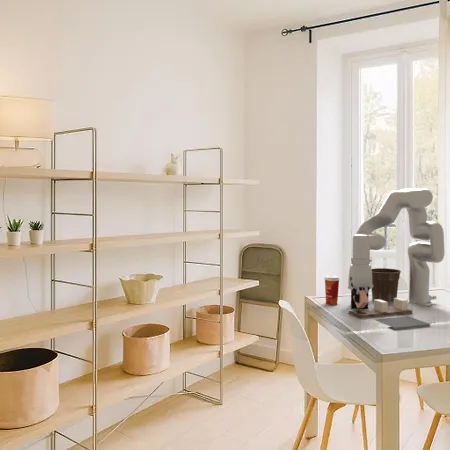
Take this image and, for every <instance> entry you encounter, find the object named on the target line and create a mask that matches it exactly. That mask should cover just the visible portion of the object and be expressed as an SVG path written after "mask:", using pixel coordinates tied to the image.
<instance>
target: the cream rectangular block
mask: <svg viewBox="0 0 450 450" xmlns="http://www.w3.org/2000/svg"><path fill="white" fill-rule="evenodd" d="M388 306H389V305H388V302H386V301H383V300H380V299H376V300H374V301H373V308H374V310H376V311H379V312H387V307H388Z"/></svg>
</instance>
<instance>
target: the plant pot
mask: <svg viewBox="0 0 450 450" xmlns="http://www.w3.org/2000/svg"><path fill="white" fill-rule="evenodd" d="M371 269H372V284H373V287H372V288H371V289H370V290H371V299H372V302H374V300H376V299H380V300H383V301H386V302H390V303H391V302H394V298H398V290H399V280H400V275H401V273H402V270H400V269H397V268H396V269H395V268H386V267H385V268H382V267H380V268H379V267H378V268H376V267H375V268H371Z"/></svg>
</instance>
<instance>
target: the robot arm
mask: <svg viewBox="0 0 450 450" xmlns="http://www.w3.org/2000/svg"><path fill="white" fill-rule="evenodd" d="M433 199H434V198H433V193H432V192H431V190H430V189H428V188H402V189H399V190H392V191H390V192H389V193H388V195H387V196H386V197H385V200H384V201H383V204H382V205H381V206H380V209H379V210H378V212H377V213H376V214H373V216H371V217H369V218H368V219H367V220H365V221H364V222H363V223H362V224H361V225H360V226H359V228H358V230H357V231H356V233H355V234H354V235H353V236H352V257H351V258H352V261H351V264H350V266H349V271H348V279H347V282H348V286H347V289H348V290H350V291H351V290H352V291H353V293H354V300H355V302H357V303H360V294H359V287H362V290H365V293H366V295H367V293H368V291H370V290H372V289H371V288H372V287H373V284H372V269H373V268H372V266H371V264H370V263H371V262H372V261H373V260H372V258H371V256H370V255H371V254H370V253H371V250H372V251H379V250H381V249H383V248H384V247H385V246H386V242H387V241H386V237H385V236H384V235H383V234H380V233H377V232H376V233H375V232H374V231H376V230H378V229H381V228H384V227H388V226H390V225H392V224H394V222H395V221H396V219H397V218H398V216H399V214H400V212H401V211H402V210H403V209H405V210H406V212H407V214H408V224H409V225H408V226H409V236H410V238H412V239H413V240H418V241H414V242H412V243H410V244H408V245H409V246H408V247H407V255H408V262H409V264H408V265H409V266H408V267H409V270H408V272H409V273H408V277H409V278H408V298H407V300H408V304H411V305H417V306H425V307H430V306H432V305H433V302H432V300H437V295H430V267H429V265H428V263H436V264H439V263H441V262H442V261H443V260H444V257H445V235H444V229H443V226H442V224H441V223H439V222H438V221H430V220H429V221H428V215H427V209H426V207H428V206H430V205H431V204H432V202H433ZM373 232H374V233H373ZM425 241H426V242H425ZM352 286H353V287H354V288H353V287H352Z"/></svg>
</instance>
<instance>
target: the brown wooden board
mask: <svg viewBox="0 0 450 450" xmlns="http://www.w3.org/2000/svg"><path fill="white" fill-rule="evenodd" d="M348 314H349V315H350V316H354V317H356V318H358V319H360V320H361V319H372V318H381V317H383V318H385V317H394V316H403V315H412V314H413V310H412V309H409V308H407V310H403V311H402V310H399V309H396V308H394V305H393V306H387V312H379V311H376V310H374V307H372V308H368V309H348Z"/></svg>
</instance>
